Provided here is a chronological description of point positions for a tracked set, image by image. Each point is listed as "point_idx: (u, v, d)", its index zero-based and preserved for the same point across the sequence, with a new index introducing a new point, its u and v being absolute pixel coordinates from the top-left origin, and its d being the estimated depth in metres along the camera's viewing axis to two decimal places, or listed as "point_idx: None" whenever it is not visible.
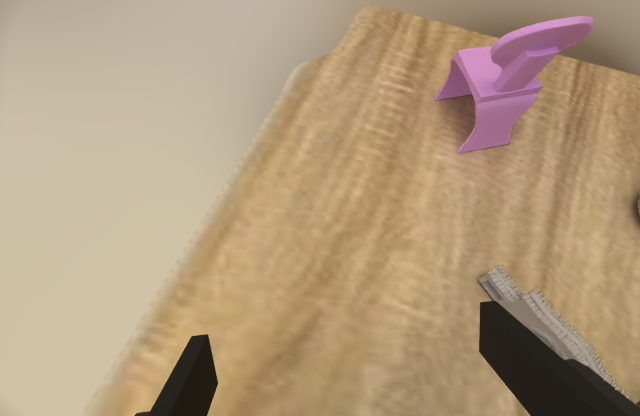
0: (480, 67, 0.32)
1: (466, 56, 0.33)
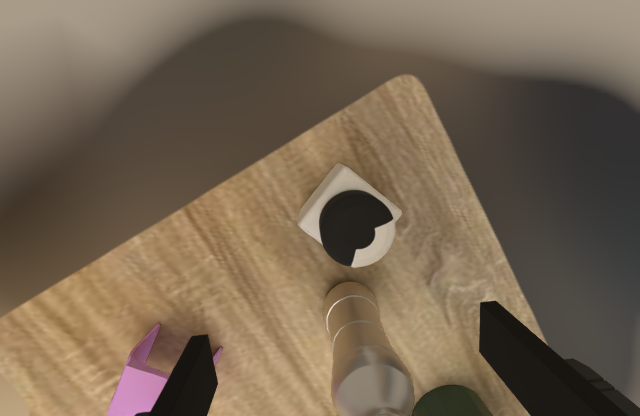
0: (136, 413, 0.32)
1: None
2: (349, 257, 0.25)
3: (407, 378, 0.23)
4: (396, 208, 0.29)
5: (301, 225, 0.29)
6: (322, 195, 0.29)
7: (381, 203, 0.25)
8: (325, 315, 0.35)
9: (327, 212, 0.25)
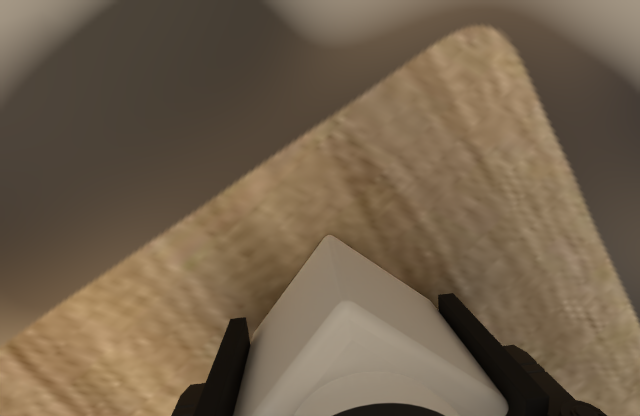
0: None
1: None
2: None
3: None
4: (494, 400, 0.10)
5: None
6: (283, 384, 0.10)
7: None
8: None
9: None
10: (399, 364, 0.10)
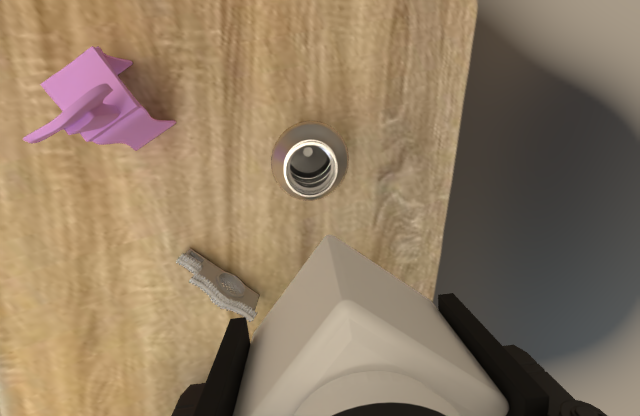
0: (72, 100, 0.31)
1: (52, 90, 0.31)
2: None
3: (346, 159, 0.25)
4: (495, 399, 0.10)
5: None
6: (283, 383, 0.10)
7: None
8: None
9: None
10: (399, 363, 0.10)
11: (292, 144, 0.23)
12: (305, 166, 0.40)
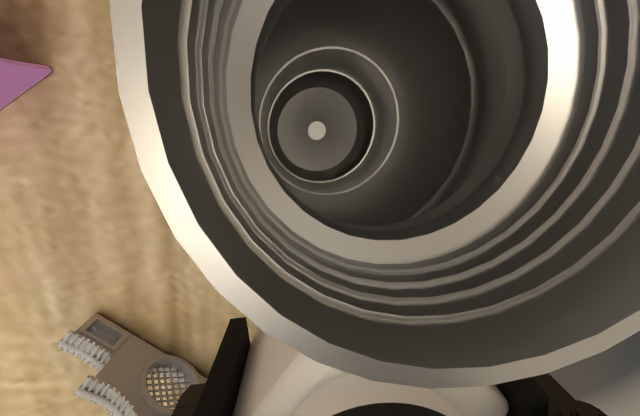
0: None
1: None
2: None
3: None
4: (495, 399, 0.10)
5: None
6: (283, 384, 0.10)
7: None
8: None
9: None
10: None
11: None
12: (312, 158, 0.21)
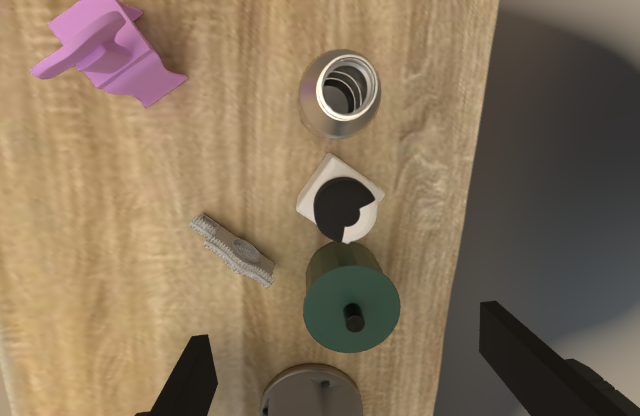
0: None
1: (60, 31, 0.29)
2: (339, 234, 0.30)
3: (380, 90, 0.23)
4: (380, 190, 0.34)
5: (298, 209, 0.34)
6: (315, 183, 0.34)
7: (364, 187, 0.29)
8: None
9: (319, 197, 0.29)
10: (349, 175, 0.33)
11: (324, 68, 0.22)
12: None
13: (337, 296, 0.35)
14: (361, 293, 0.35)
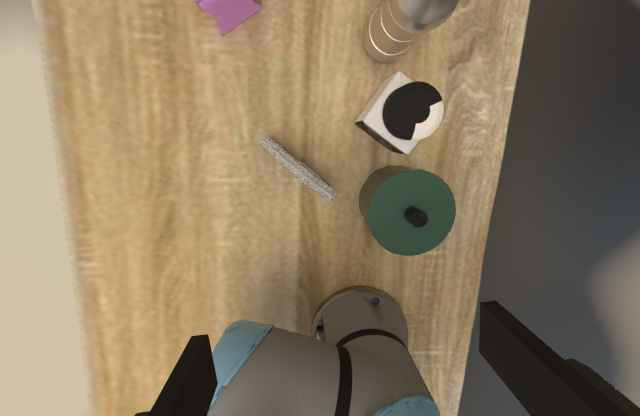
0: None
1: None
2: (410, 130, 0.34)
3: None
4: None
5: (366, 120, 0.38)
6: (381, 95, 0.37)
7: (433, 87, 0.33)
8: (374, 10, 0.38)
9: (393, 97, 0.33)
10: None
11: None
12: None
13: (400, 199, 0.38)
14: (421, 197, 0.38)
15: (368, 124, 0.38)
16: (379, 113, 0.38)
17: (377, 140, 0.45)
